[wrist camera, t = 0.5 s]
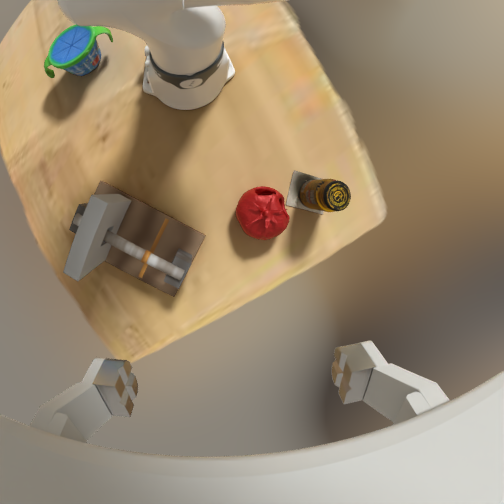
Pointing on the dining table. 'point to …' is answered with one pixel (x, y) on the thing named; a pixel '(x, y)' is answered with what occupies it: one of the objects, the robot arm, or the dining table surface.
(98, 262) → the grey slab
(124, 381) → the robot arm
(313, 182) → the condiment
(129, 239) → the pipe rig
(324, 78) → the dining table surface
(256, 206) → the pomegranate
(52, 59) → the snack cup
